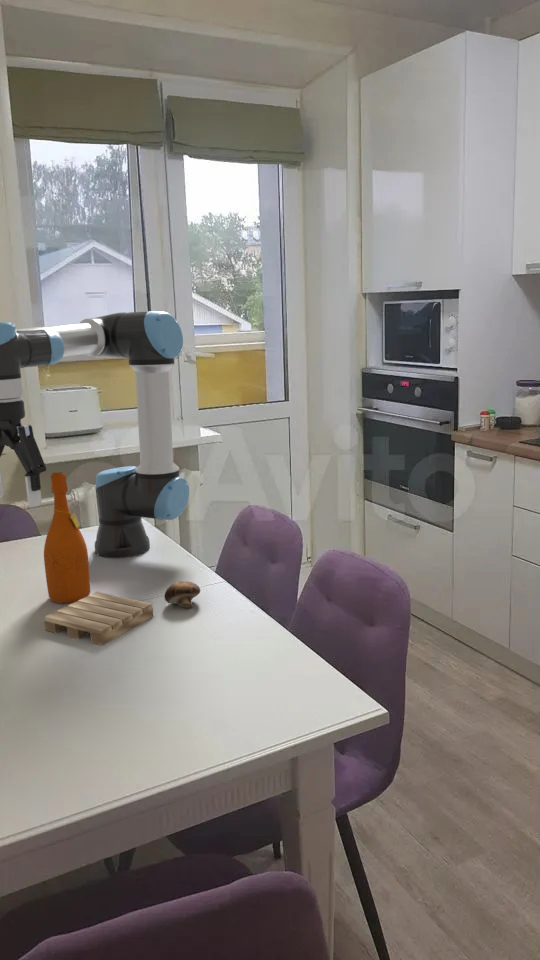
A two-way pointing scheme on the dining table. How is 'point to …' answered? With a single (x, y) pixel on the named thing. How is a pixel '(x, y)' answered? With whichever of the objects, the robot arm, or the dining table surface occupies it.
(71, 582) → the wine bottle
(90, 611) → the pallet
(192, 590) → the mushroom
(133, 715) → the dining table surface
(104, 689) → the dining table surface
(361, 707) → the dining table surface
